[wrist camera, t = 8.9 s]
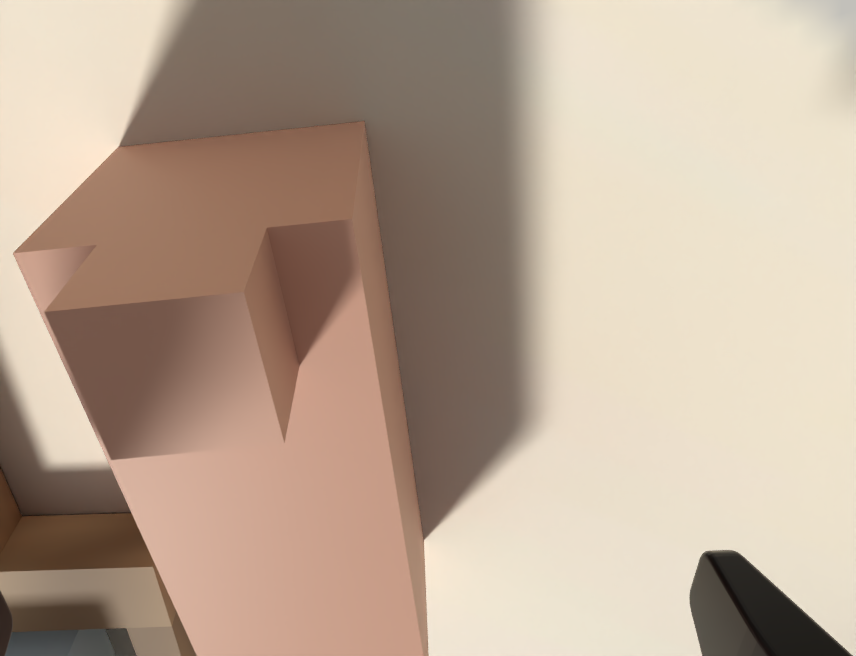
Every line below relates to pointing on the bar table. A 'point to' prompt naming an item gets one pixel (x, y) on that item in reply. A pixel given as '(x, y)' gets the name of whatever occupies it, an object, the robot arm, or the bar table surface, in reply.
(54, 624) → the jig
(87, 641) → the light blue rectangular block
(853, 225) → the bar table surface
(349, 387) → the block
